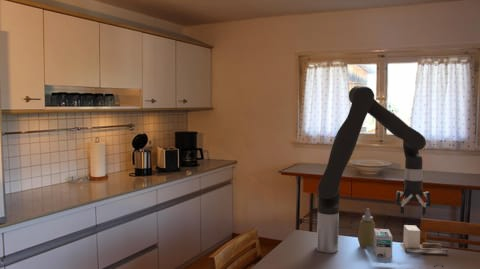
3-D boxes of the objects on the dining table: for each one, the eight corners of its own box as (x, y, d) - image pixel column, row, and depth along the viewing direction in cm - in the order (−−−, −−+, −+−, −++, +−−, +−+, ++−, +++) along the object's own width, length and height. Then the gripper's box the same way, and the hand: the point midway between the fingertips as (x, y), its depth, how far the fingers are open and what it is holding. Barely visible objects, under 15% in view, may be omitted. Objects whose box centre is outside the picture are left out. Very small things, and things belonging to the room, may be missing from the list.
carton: (407, 250, 190) (408, 230, 189) (403, 244, 198) (403, 225, 197) (419, 250, 189) (420, 230, 188) (415, 244, 197) (415, 225, 196)
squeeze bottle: (378, 246, 199) (379, 208, 198) (373, 251, 193) (374, 211, 191) (360, 243, 204) (361, 205, 202) (355, 248, 197) (356, 209, 196)
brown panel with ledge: (405, 256, 187) (405, 248, 187) (399, 246, 199) (399, 239, 199) (447, 258, 185) (447, 250, 184) (438, 248, 197) (438, 241, 196)
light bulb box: (392, 261, 181) (393, 236, 180) (375, 260, 182) (376, 235, 181) (388, 252, 191) (389, 228, 190) (373, 251, 193) (373, 227, 192)
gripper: (398, 179, 188) (397, 216, 190) (432, 180, 186) (431, 217, 187) (394, 176, 196) (394, 212, 197) (428, 177, 194) (427, 213, 195)
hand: (412, 214), depth 192 cm, fingers open, 8 cm apart
